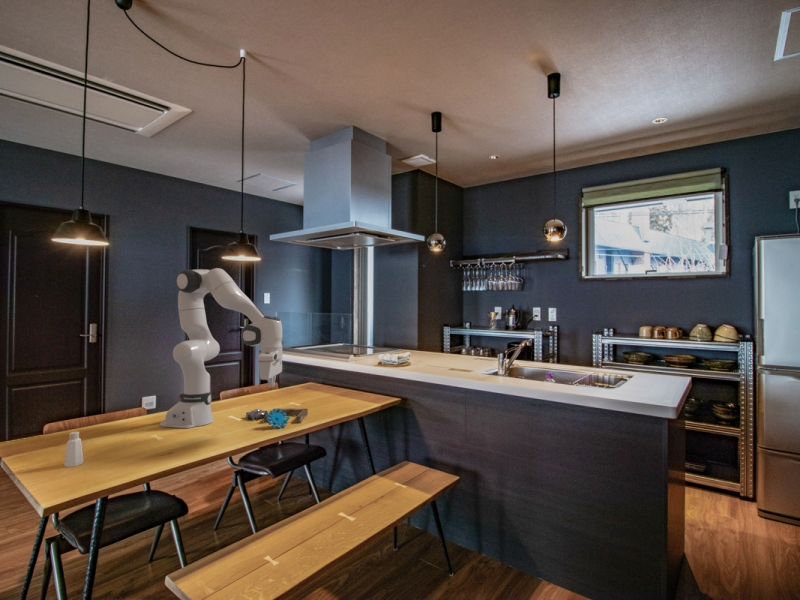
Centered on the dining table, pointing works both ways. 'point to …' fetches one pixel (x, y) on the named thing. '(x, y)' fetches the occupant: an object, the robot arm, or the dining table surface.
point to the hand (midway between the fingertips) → (271, 386)
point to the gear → (277, 418)
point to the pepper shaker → (73, 451)
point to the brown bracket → (299, 412)
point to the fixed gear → (256, 414)
